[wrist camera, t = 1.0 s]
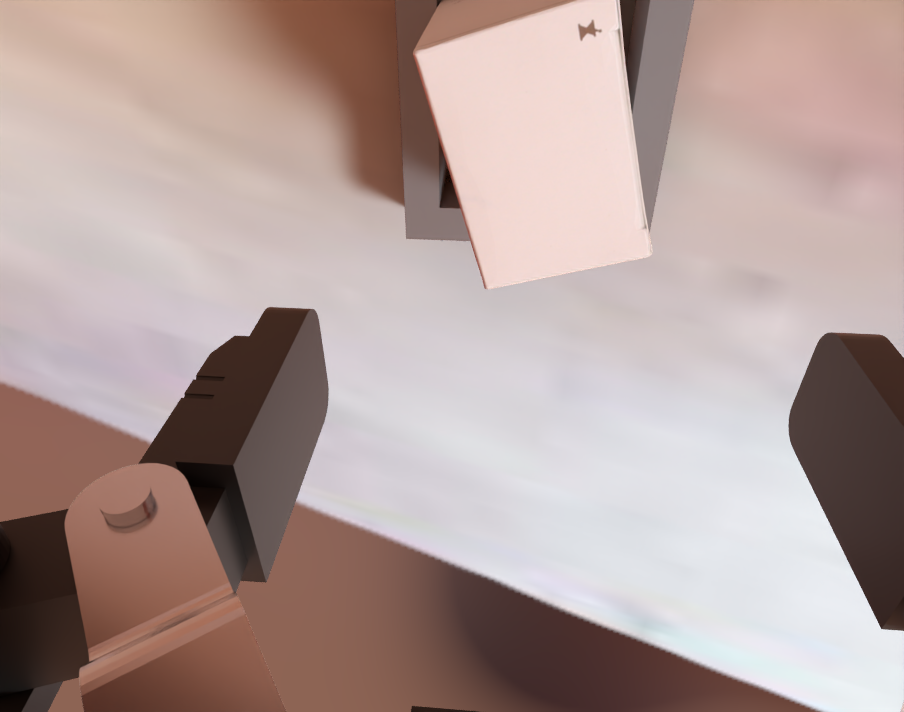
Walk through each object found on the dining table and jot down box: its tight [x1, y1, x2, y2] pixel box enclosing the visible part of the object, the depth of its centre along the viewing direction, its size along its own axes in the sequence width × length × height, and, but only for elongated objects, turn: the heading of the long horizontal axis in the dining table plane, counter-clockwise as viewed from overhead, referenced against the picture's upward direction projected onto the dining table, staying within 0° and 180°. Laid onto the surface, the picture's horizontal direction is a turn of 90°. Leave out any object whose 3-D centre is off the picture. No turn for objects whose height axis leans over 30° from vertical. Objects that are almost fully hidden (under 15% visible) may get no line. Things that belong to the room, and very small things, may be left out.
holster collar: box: [395, 0, 694, 241], centre depth 26 cm, size 10×12×3 cm
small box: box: [413, 0, 652, 289], centre depth 23 cm, size 8×6×10 cm
